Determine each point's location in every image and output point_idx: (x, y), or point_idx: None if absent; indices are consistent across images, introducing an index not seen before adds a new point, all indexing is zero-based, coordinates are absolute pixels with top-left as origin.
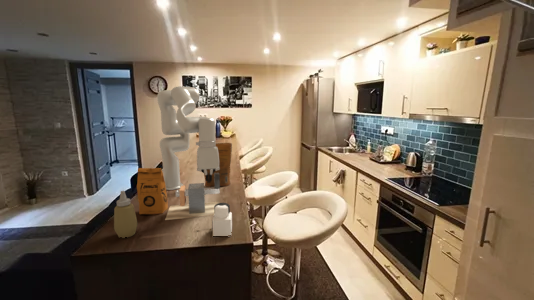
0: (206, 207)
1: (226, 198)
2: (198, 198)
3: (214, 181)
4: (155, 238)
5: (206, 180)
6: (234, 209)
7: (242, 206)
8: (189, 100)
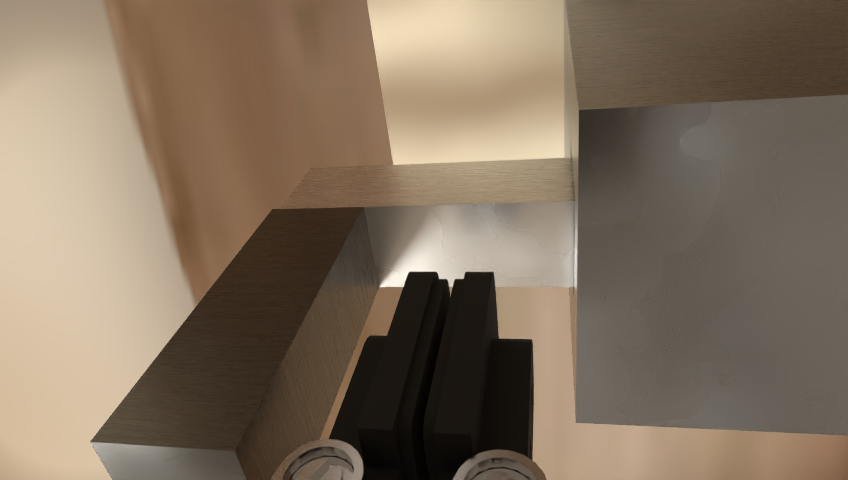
0: (545, 145)
1: (350, 360)
2: (684, 32)
3: (338, 349)
4: None
5: (508, 342)
6: (223, 81)
7: (155, 146)
8: None
